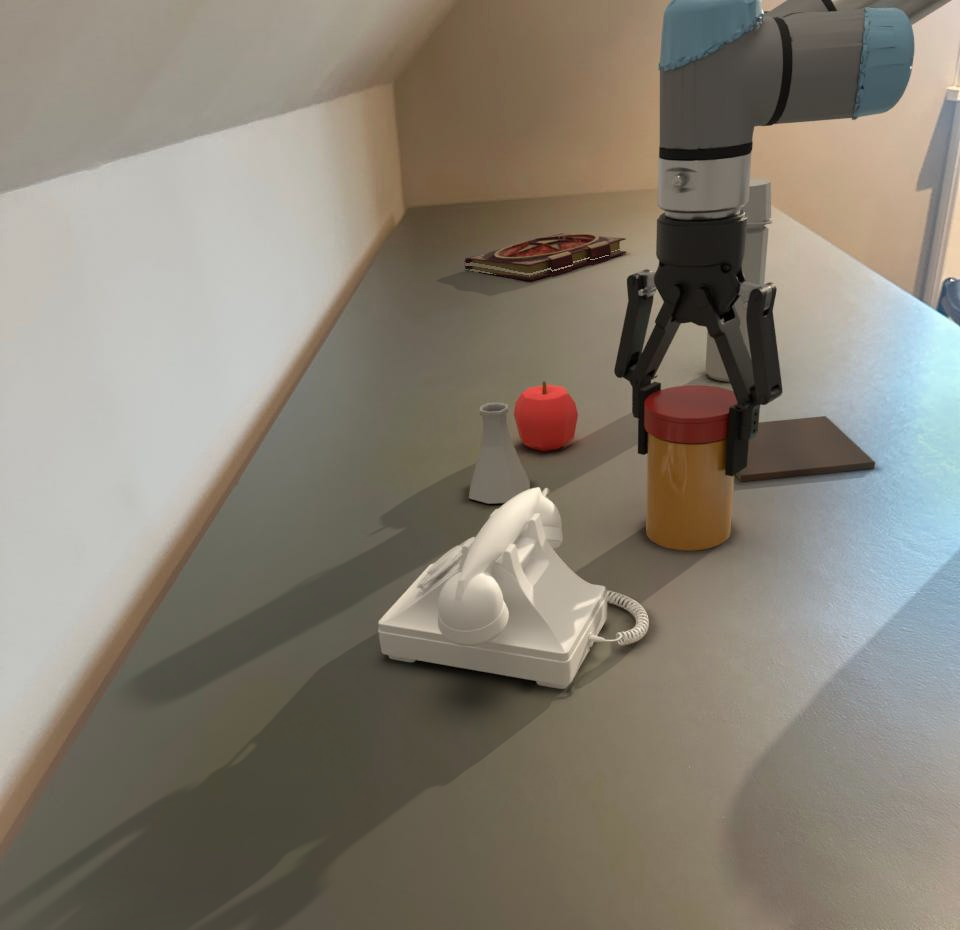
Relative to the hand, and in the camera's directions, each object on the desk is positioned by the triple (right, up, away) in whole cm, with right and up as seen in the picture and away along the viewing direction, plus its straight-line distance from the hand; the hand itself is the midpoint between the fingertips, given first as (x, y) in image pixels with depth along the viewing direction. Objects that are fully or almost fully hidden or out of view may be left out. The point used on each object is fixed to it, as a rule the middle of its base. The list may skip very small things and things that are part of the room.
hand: (690, 459), depth 94 cm
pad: (+15, +5, +20) cm, 25 cm away
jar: (+1, -7, +4) cm, 8 cm away
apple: (-12, +7, +27) cm, 30 cm away
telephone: (-16, -17, -9) cm, 25 cm away
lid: (0, +4, -3) cm, 5 cm away
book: (-6, +63, +114) cm, 130 cm away
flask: (-18, -1, +16) cm, 24 cm away
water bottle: (+15, +20, +44) cm, 51 cm away
